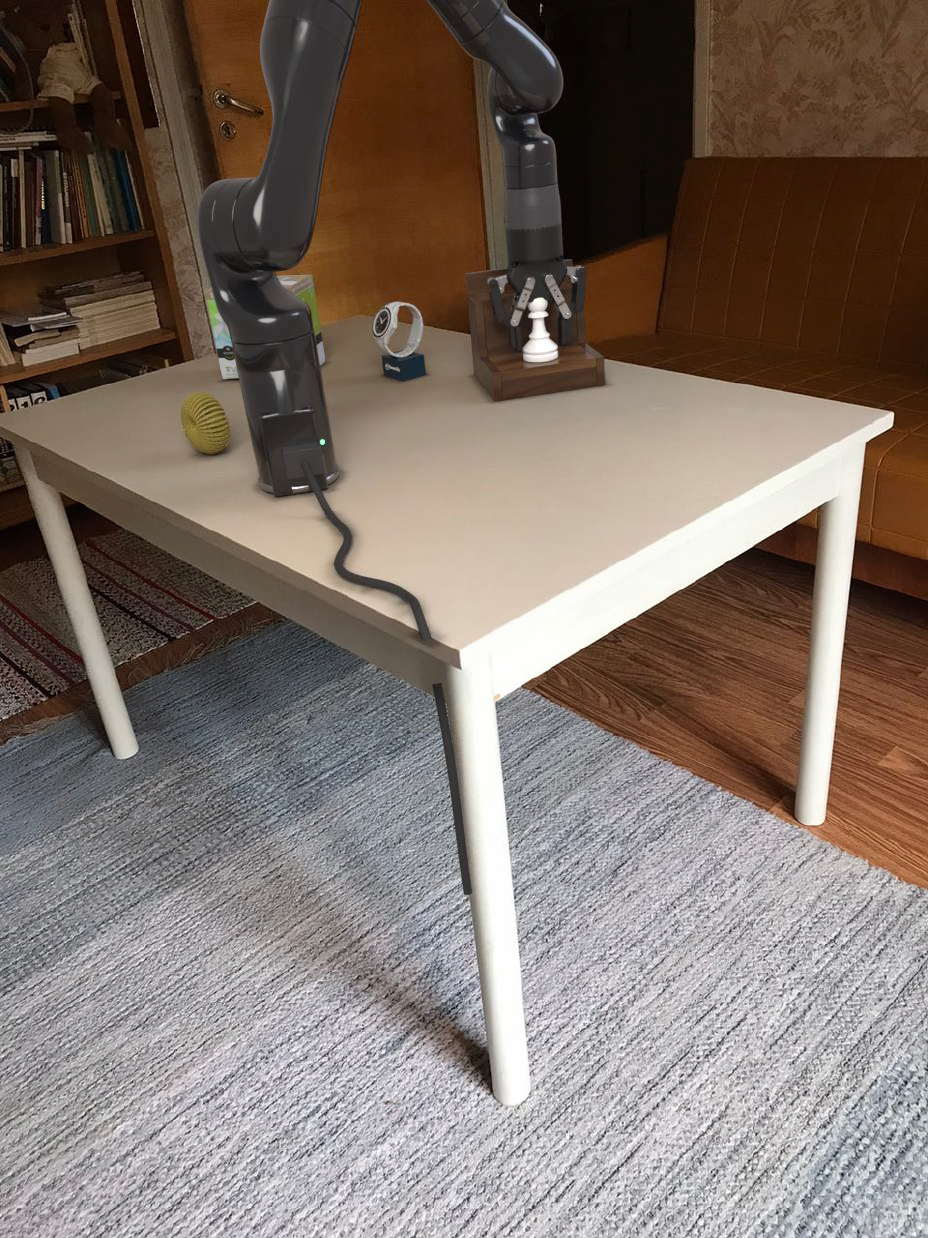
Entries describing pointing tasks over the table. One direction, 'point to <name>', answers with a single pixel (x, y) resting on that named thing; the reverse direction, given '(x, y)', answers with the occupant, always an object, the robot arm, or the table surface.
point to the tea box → (293, 283)
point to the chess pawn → (539, 335)
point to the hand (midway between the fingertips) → (540, 347)
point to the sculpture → (205, 423)
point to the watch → (406, 360)
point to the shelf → (507, 368)
